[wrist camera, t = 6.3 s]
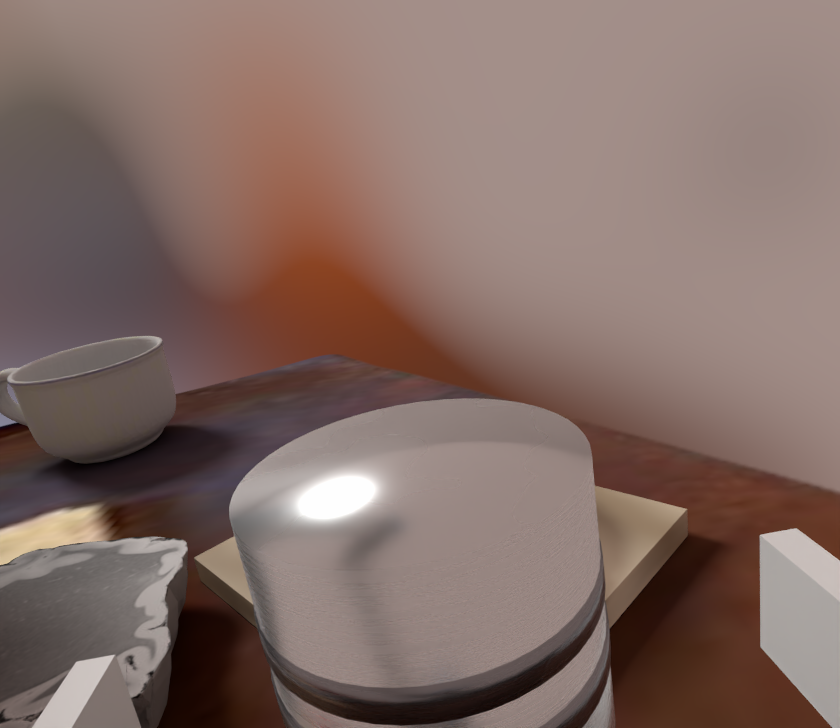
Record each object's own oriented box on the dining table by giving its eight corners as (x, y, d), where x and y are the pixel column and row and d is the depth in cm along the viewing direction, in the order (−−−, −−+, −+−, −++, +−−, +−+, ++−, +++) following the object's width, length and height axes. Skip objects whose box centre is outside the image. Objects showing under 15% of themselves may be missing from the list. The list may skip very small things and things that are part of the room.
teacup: (212, 418, 50) (188, 329, 48) (125, 476, 40) (90, 367, 38) (82, 427, 54) (55, 345, 52) (-27, 483, 44) (-67, 384, 42)
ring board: (464, 802, 15) (442, 683, 14) (200, 580, 26) (178, 508, 25) (688, 535, 24) (684, 452, 23) (419, 458, 35) (409, 401, 34)
